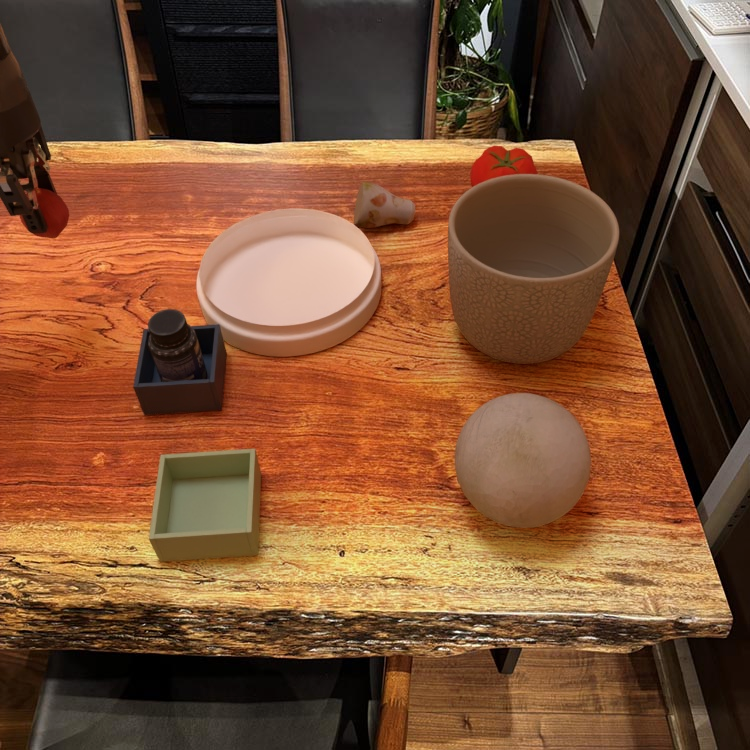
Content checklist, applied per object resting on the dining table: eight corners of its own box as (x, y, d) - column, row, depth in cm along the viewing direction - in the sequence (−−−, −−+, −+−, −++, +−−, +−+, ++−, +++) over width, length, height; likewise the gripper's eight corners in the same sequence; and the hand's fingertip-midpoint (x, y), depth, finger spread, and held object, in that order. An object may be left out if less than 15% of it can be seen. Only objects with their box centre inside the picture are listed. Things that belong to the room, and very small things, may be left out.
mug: (421, 235, 128) (392, 199, 120) (368, 250, 132) (337, 217, 124) (422, 197, 131) (393, 160, 123) (370, 214, 135) (339, 179, 128)
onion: (21, 241, 104) (-2, 190, 98) (55, 217, 107) (34, 166, 101) (52, 256, 102) (29, 205, 96) (86, 232, 105) (66, 181, 99)
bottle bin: (144, 415, 105) (132, 387, 101) (153, 357, 112) (143, 328, 107) (222, 410, 105) (214, 382, 101) (226, 353, 112) (219, 324, 108)
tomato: (458, 202, 132) (461, 164, 127) (488, 168, 138) (491, 130, 133) (517, 223, 129) (522, 184, 123) (545, 187, 135) (551, 148, 129)
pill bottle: (215, 384, 107) (199, 326, 99) (173, 404, 105) (153, 347, 97) (196, 355, 111) (179, 298, 102) (155, 374, 109) (134, 317, 100)
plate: (207, 372, 110) (199, 345, 106) (195, 247, 127) (188, 219, 123) (399, 339, 113) (399, 311, 109) (362, 221, 130) (360, 193, 126)
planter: (438, 281, 120) (443, 175, 106) (578, 277, 120) (601, 170, 105) (448, 388, 107) (454, 283, 92) (605, 384, 106) (636, 278, 92)
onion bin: (159, 562, 91) (148, 538, 87) (170, 479, 99) (160, 454, 95) (258, 555, 91) (251, 532, 87) (261, 473, 99) (255, 448, 95)
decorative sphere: (456, 553, 91) (463, 480, 80) (447, 445, 101) (453, 366, 89) (589, 551, 91) (615, 477, 79) (568, 443, 100) (588, 363, 89)
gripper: (-25, 63, 94) (26, 183, 106) (-60, 132, 84) (1, 254, 97) (39, 59, 94) (83, 179, 107) (12, 127, 85) (64, 250, 97)
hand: (44, 214), depth 102 cm, fingers closed on onion, 6 cm apart
